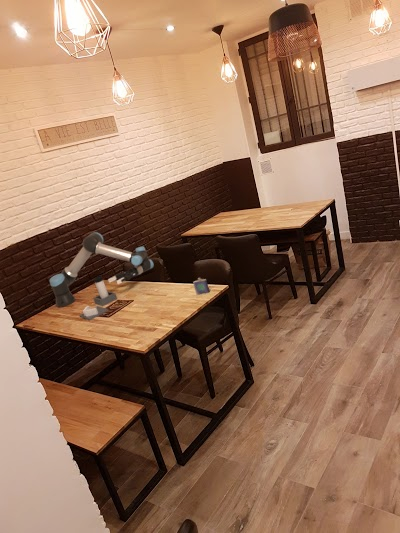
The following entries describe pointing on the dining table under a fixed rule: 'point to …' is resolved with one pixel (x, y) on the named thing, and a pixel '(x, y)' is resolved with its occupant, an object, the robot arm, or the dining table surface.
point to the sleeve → (105, 299)
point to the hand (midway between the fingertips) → (112, 281)
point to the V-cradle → (92, 312)
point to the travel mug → (101, 287)
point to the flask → (201, 286)
